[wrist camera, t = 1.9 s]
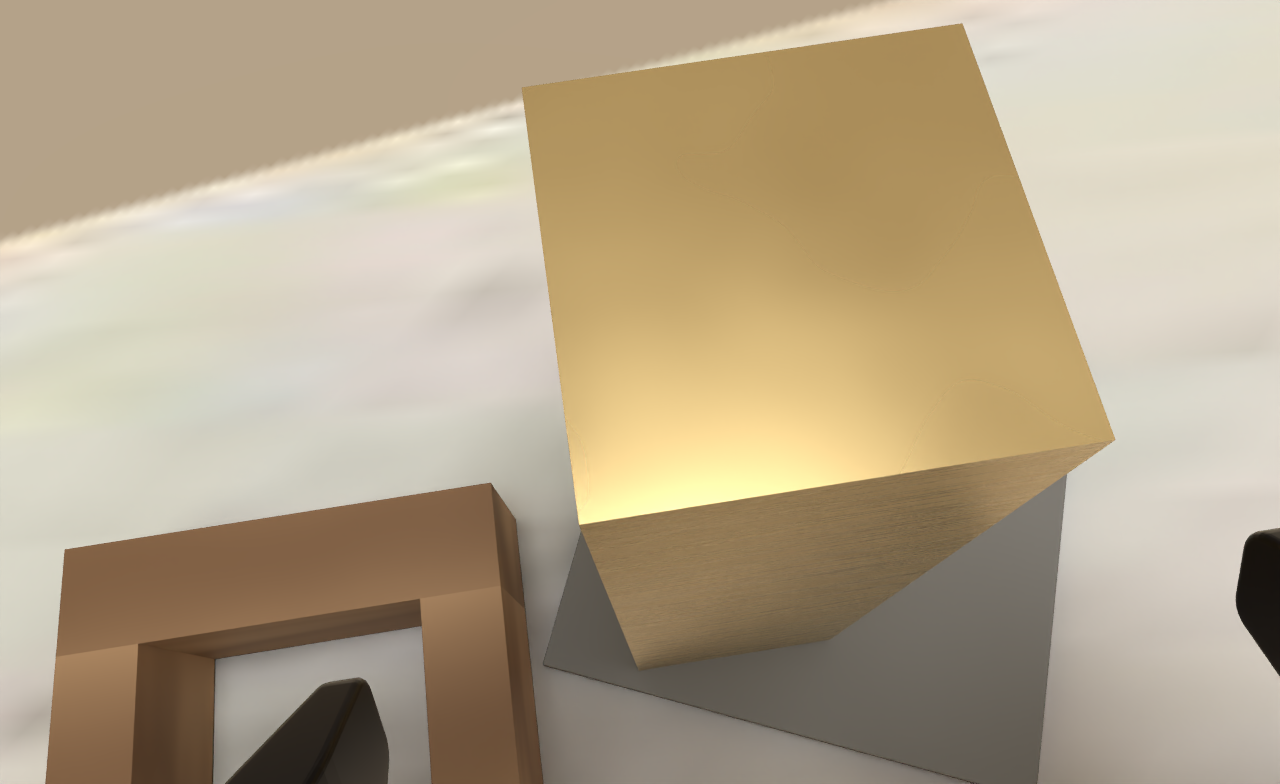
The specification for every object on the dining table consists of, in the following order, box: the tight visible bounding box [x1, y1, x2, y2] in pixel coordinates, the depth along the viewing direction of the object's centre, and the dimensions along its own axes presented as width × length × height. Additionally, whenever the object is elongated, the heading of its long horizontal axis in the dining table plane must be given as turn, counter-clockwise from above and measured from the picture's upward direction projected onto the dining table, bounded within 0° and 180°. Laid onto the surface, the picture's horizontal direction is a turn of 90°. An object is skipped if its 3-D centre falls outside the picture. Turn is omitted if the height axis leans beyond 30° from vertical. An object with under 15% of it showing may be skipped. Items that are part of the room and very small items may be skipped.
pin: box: [522, 24, 1115, 671], centre depth 13 cm, size 4×4×13 cm
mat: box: [543, 474, 1067, 784], centre depth 20 cm, size 10×10×1 cm
